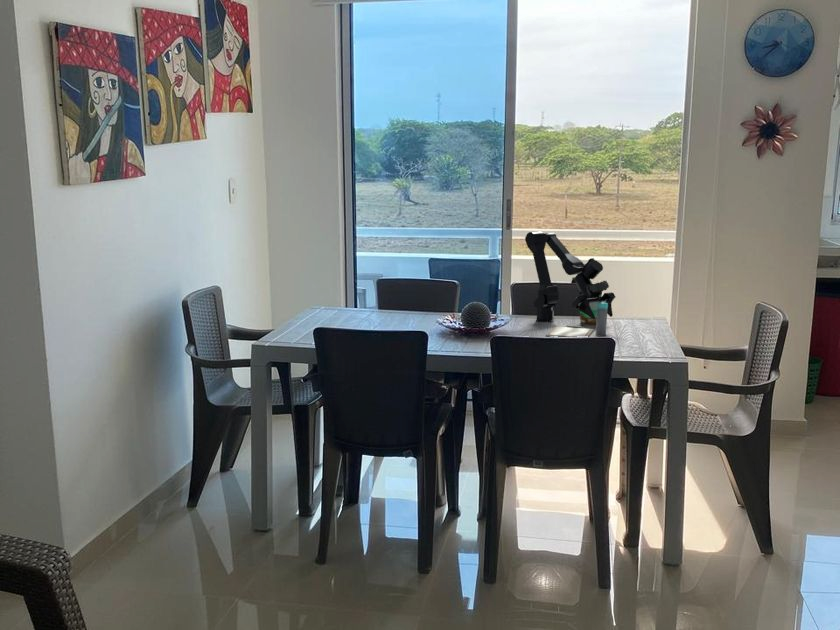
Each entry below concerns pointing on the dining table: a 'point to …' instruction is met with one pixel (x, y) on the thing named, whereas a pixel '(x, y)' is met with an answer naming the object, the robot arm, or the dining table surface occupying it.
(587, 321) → the food container
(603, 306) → the marker
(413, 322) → the dining table surface
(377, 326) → the dining table surface
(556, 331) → the clipboard
